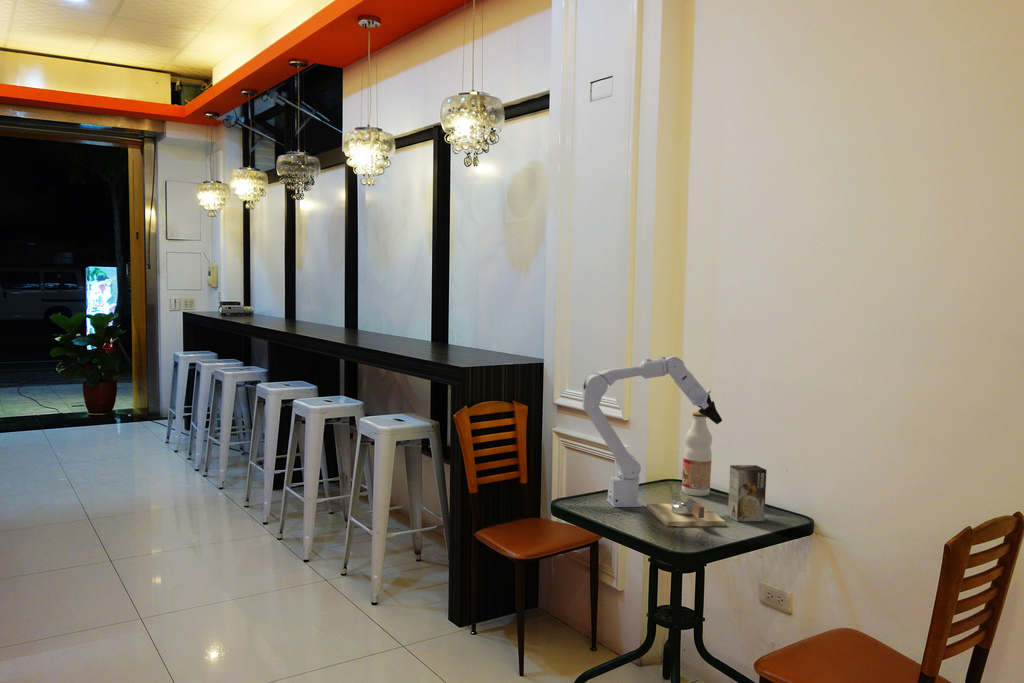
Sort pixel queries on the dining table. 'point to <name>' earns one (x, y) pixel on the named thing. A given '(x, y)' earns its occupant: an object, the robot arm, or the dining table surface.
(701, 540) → the dining table surface
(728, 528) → the dining table surface
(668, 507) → the nut base
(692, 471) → the fruit juice
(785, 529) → the dining table surface
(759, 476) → the biscuit box
